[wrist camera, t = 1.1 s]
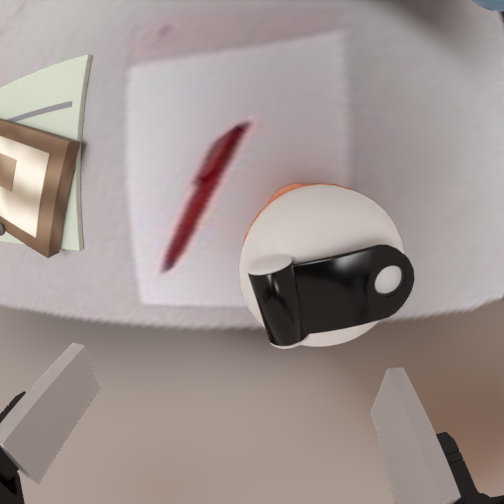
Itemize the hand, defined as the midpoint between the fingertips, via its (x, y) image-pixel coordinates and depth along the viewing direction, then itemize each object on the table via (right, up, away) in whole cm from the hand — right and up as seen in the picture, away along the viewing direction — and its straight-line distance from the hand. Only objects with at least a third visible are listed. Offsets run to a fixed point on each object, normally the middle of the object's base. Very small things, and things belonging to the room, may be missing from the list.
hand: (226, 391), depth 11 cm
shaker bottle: (+6, +10, +20) cm, 23 cm away
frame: (-33, +16, +19) cm, 41 cm away
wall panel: (-34, +20, +20) cm, 44 cm away
